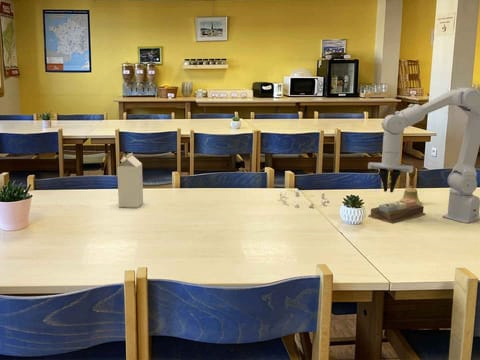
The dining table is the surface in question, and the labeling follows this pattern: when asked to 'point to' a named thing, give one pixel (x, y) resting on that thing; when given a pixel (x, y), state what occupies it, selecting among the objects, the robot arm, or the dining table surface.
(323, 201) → the game piece set
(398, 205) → the key two cream
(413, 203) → the key one terracotta
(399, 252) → the dining table surface
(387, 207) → the key three slate
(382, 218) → the wooden tray
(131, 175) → the milk carton
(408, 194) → the hand bell
